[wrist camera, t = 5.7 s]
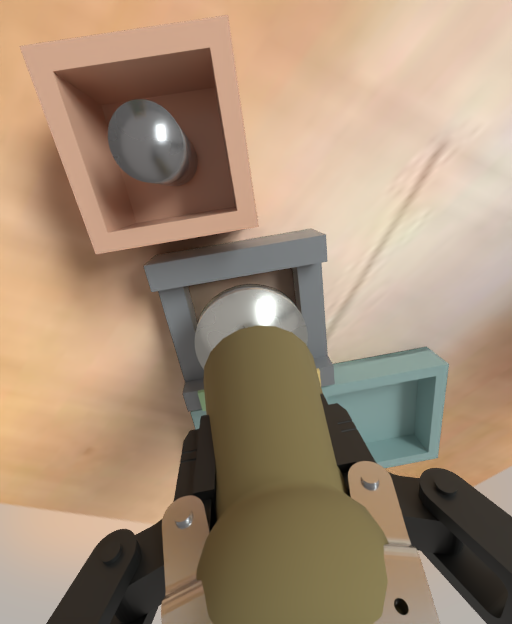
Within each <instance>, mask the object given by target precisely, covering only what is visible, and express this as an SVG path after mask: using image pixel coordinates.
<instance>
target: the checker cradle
mask: <svg viewBox="0 0 512 624" xmlns="http://www.w3.org/2000/svg"><path fill="white" fill-rule="evenodd" d="M322 262H327V246H326V234H323V233H321V232H318V231H316V230H314V229H306V230H301V231H295V232H289V233H283V234H277V235H271V236H266V237H260V238H254V239H248V240H242V241H236V242H230V243H225V244H219V245H213V246H207V247H201V248H195V249H189V250H184V251H178V252H172V253H166V254H160V255H155V256H154V257H153V258H152V259H151V260H150V261H149V262H147V263H146V264H145V265H144V269H145V273H146V276H147V279H148V282H149V286H150V289H151V292H155V291H158V292H159V296H160V299H161V303H162V306H163V309H164V313H165V316H166V319H167V323H168V326H169V329H170V333H171V336H172V339H173V343H174V346H175V350H176V353H177V356H178V360H179V363H180V366H181V370H182V373H183V376H184V380H185V385H184V390H183V396H184V399H185V403H186V406H187V409H188V411H194V410H199V409H202V410H203V411H206V404H205V393H204V382H203V381H204V369H203V368H202V366H201V365H200V363H199V361H198V358H197V355H196V351H195V333H196V328H197V324H198V323H197V319H196V315H195V311H194V307H193V303H192V299H191V295H190V291H189V287H188V286H190V285H195V284H201V283H207V282H213V281H218V280H224V279H230V278H236V277H241V276H247V275H253V274H258V273H264V272H270V271H276V270H281V269H287V268H292V270H293V280H294V289H295V298H296V307H297V309H298V310H299V312H300V313H301V315H302V317H303V319H304V321H305V324H306V327H307V333H308V342H307V347H308V349H309V350H310V352H311V354H312V355H313V358H314V362H315V366H316V370H317V373H318V377H319V381H320V385H321V387H323V386H328V385H334V384H335V381H334V366H333V364H332V362H331V361H330V359H329V357H328V355H327V340H326V326H325V311H324V296H323V281H322V267H321V263H322Z"/></svg>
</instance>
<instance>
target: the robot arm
mask: <svg viewBox="0 0 512 624" xmlns="http://www.w3.org/2000/svg"><path fill="white" fill-rule="evenodd" d="M320 396H321V401H322V405H323V409H324V413H325V417H326V422H327V426H328V430H329V434H330V439H331V443H332V447H333V451H334V455H335V460H336V464H337V466H338V468H339V469H340V471H341V472H342V474H343V478H344V482H345V485H346V488H347V491H348V494H349V497H351V498H352V499H354V500H356V501H357V502H359V503H360V504H362V505H363V506H365V507H366V509H367V510H368V511H369V513H370V514H371V515H372V517H373V518H374V519H375V521H376V522H377V523H378V525H379V526H380V527H381V529H382V530H383V532H384V534H385V536H386V538H387V540H388V543H389V544H384V561H385V567H386V573H387V580H388V584H387V589H386V595H385V601H384V607H383V613H382V616H381V617H380V618H379V619H378V620H377V621H376V622H374V623H373V624H440V622H439V618H438V615H437V612H436V608H435V605H434V602H433V598H432V595H431V592H430V589H429V585H428V583H427V579H426V575H425V572H424V569H423V566H422V562H421V559H420V556H419V554H418V551H417V550H420V551H422V552H423V554H424V555H425V556H426V557H427V558H428V559H429V560H430V561H431V563H432V564H433V565H434V566H435V567H436V568H437V569H438V570H439V571H440V572H441V574H442V575H443V576H444V577H445V578H446V579H447V580H448V581H449V582H450V583H451V585H452V586H453V587H454V588H455V589H456V590H457V591H458V592H459V593H460V595H461V596H462V597H463V598H464V599H465V600H466V601H467V602H468V603H469V604H470V606H471V607H472V608H473V609H474V610H475V611H476V612H477V613H478V614H479V616H480V617H481V618H482V619H483V620H484V621H485V622H486V623H487V624H512V517H511V516H510V515H509V514H507V513H506V512H505V511H503V510H502V509H501V508H500V507H498V506H497V505H496V504H494V503H493V502H492V501H490V500H489V499H488V498H487V497H485V496H484V495H483V494H481V493H480V492H478V491H477V490H476V489H475V488H473V487H472V486H471V485H470V484H468V483H467V482H466V481H464V480H463V479H462V478H460V477H459V476H458V475H456V474H454V473H453V472H450V471H448V470H445V469H440V468H431V469H428V470H426V471H424V472H423V473H422V475H421V477H420V478H412V477H403V476H398V475H394V474H392V473H389V472H387V470H386V469H385V468H383V467H382V466H381V465H379V464H377V463H376V461H375V460H374V458H373V456H372V455H371V453H370V451H369V449H368V447H367V446H366V444H365V442H364V440H363V439H362V437H361V435H360V433H359V431H358V430H357V428H356V426H355V424H354V422H352V419H351V417H350V415H349V414H348V412H347V410H346V409H344V408H343V407H342V406H341V405H339V404H338V403H335V404H329V405H328V403H327V400H326V398H325V396H324V395H323V393H321V394H320ZM180 462H181V464H180V467H179V473H178V479H177V485H176V491H175V497H174V502H173V503H172V504H171V505H170V506H169V507H168V509H167V510H166V512H165V514H164V516H163V519H161V520H160V521H159V522H158V523H156V524H155V525H153V526H151V527H150V528H148V529H146V530H144V531H142V532H140V533H138V534H136V535H134V533H133V532H132V531H130V530H127V529H120V530H116V531H114V532H112V533H110V534H109V535H107V536H106V537H105V538H103V539H102V540H101V541H100V543H98V545H97V546H96V547H95V549H94V550H93V552H92V553H91V555H90V556H89V558H88V559H87V561H86V563H85V564H84V566H83V567H82V569H81V570H80V572H79V573H78V575H77V577H76V578H75V580H74V581H73V583H72V584H71V586H70V588H69V589H68V591H67V592H66V594H65V595H64V597H63V598H62V600H61V602H60V603H59V605H58V606H57V608H56V609H55V611H54V613H53V614H52V616H51V617H50V619H49V620H48V622H47V623H46V624H152V621H153V619H154V616H155V614H156V611H157V609H158V606H159V605H161V604H162V606H161V618H162V624H213V622H212V621H211V619H210V618H209V615H208V611H207V605H206V599H205V594H204V589H203V586H202V581H201V580H197V579H196V572H197V566H198V563H199V560H200V557H201V554H202V550H203V547H204V544H205V541H206V539H207V537H208V535H209V533H210V532H211V530H212V528H213V526H214V525H215V524H216V522H217V521H216V510H215V505H216V468H215V454H214V447H213V440H212V432H211V425H210V418H209V414H208V415H203V416H201V418H200V427H199V429H196V430H191V431H190V432H189V433H188V435H187V437H186V438H185V440H184V443H183V449H182V455H181V461H180ZM395 606H397V607H399V608H400V610H401V611H402V612H403V614H404V615H401V614H399V613H398V612H397V611H396V609H395Z"/></svg>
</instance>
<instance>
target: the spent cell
mask: <svg viewBox="0 0 512 624" xmlns="http://www.w3.org/2000/svg"><path fill="white" fill-rule="evenodd" d="M108 143H109V147H110V151H111V153H112V156H113V158H114V159H115V161H116V163H117V164H118V165H119V167H120V168H121V169H122V170H123V171H124V172H125V173H127V174H128V175H129V176H131V177H132V178H134V179H136V180H139V181H142V182H147V183H155V184H162V185H170V186H180V185H184V184H186V183H187V182H189V181H190V180H191V179H192V178H193V176H194V175H195V173H196V170H197V165H198V159H197V154H196V151H195V148H194V146H193V145H192V143H191V142H190V140H189V139H188V138H187V136H186V135H185V133H184V132H183V130H182V129H181V128H180V126H179V125H178V123H177V122H176V121H175V119H174V118H173V116H172V115H171V114H170V113H169V112H168V111H167V110H166V109H165V108H163V107H162V106H161V105H159V104H157V103H155V102H152V101H149V100H144V99H136V100H131V101H128V102H126V103H124V104H122V105H121V106H120V107H119V108H118V109H117V110H116V111H115V112H114V114H113V116H112V117H111V120H110V123H109V126H108Z"/></svg>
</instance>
